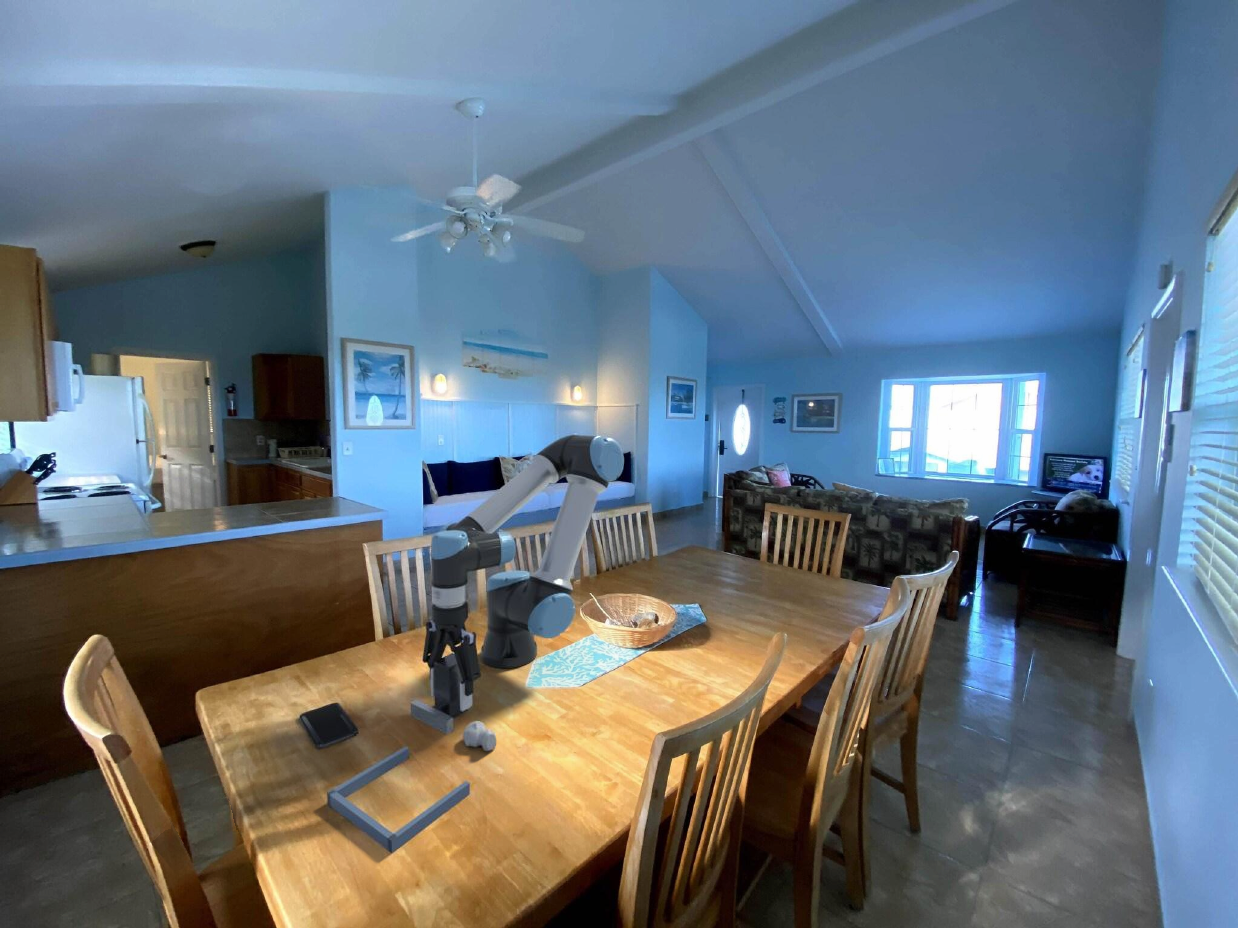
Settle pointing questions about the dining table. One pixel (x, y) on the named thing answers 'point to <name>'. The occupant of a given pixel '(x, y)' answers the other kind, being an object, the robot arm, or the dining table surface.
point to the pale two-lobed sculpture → (479, 736)
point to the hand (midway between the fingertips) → (451, 700)
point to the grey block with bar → (442, 696)
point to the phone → (328, 725)
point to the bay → (372, 826)
